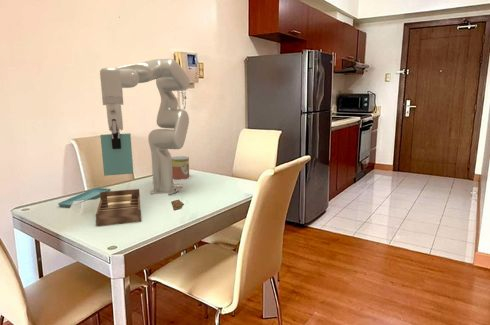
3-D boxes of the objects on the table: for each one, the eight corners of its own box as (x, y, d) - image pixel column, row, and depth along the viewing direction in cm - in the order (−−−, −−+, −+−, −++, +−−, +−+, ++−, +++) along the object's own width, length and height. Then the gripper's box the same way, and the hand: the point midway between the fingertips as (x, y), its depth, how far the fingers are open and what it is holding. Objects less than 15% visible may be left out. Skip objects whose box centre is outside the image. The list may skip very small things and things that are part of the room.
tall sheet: (133, 172, 142) (130, 133, 139) (133, 173, 139) (130, 134, 136) (104, 174, 138) (100, 134, 135) (104, 175, 136) (100, 135, 133)
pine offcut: (131, 214, 135) (130, 200, 134) (131, 216, 133) (130, 202, 132) (109, 216, 133) (108, 202, 132) (109, 218, 131) (107, 204, 130)
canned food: (180, 180, 197) (179, 160, 195) (166, 178, 203) (165, 158, 201) (193, 177, 206) (192, 157, 204) (179, 174, 212) (178, 155, 210)
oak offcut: (132, 211, 140) (131, 194, 138) (132, 212, 137) (131, 195, 136) (108, 213, 137) (107, 196, 136) (108, 215, 135) (106, 198, 133)
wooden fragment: (166, 220, 134) (166, 217, 134) (140, 218, 137) (140, 215, 137) (191, 201, 159) (191, 199, 159) (169, 199, 161) (169, 197, 161)
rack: (140, 209, 146) (139, 188, 145) (141, 225, 128) (140, 201, 126) (101, 213, 142) (100, 192, 140) (97, 230, 123) (95, 206, 122)
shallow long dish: (75, 209, 148) (75, 204, 148) (57, 208, 150) (56, 202, 150) (111, 193, 173) (111, 188, 173) (95, 192, 175) (95, 187, 175)
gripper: (122, 101, 127) (126, 150, 131) (123, 100, 142) (127, 144, 146) (100, 101, 125) (105, 152, 128) (104, 100, 140) (108, 145, 143)
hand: (116, 147), depth 137 cm, fingers closed on tall sheet, 2 cm apart
